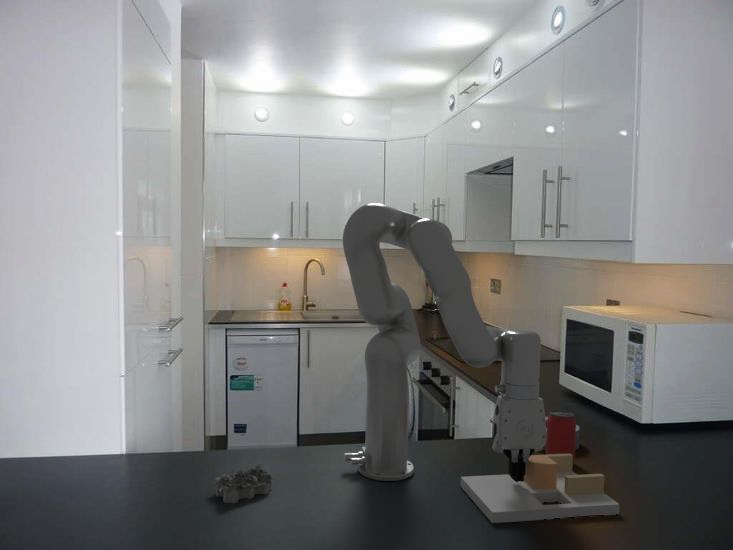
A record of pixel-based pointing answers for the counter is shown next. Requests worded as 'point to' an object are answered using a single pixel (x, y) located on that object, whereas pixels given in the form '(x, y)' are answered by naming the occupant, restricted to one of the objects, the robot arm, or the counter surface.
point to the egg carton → (243, 484)
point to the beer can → (561, 433)
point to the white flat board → (540, 495)
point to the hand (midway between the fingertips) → (516, 479)
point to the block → (541, 472)
